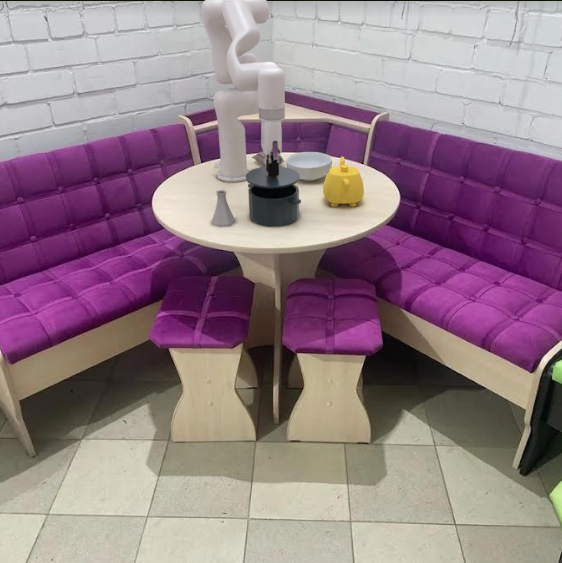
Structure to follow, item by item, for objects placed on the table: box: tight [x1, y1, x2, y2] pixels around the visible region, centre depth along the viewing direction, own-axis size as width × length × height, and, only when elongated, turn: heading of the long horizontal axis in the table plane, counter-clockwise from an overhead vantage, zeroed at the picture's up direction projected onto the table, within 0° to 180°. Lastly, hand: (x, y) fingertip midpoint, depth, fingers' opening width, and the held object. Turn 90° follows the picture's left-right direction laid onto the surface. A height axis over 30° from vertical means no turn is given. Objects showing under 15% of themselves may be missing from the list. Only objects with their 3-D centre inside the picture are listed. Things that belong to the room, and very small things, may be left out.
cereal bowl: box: [285, 151, 333, 182], centre depth 207 cm, size 17×17×7 cm
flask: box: [211, 189, 235, 227], centre depth 174 cm, size 7×7×10 cm
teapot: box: [322, 156, 365, 207], centre depth 187 cm, size 13×20×12 cm
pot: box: [247, 183, 302, 228], centre depth 177 cm, size 16×21×9 cm
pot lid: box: [245, 157, 301, 188], centre depth 172 cm, size 17×17×7 cm
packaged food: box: [251, 150, 285, 167], centre depth 220 cm, size 9×12×5 cm
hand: (272, 172), depth 173 cm, fingers closed on pot lid, 2 cm apart
